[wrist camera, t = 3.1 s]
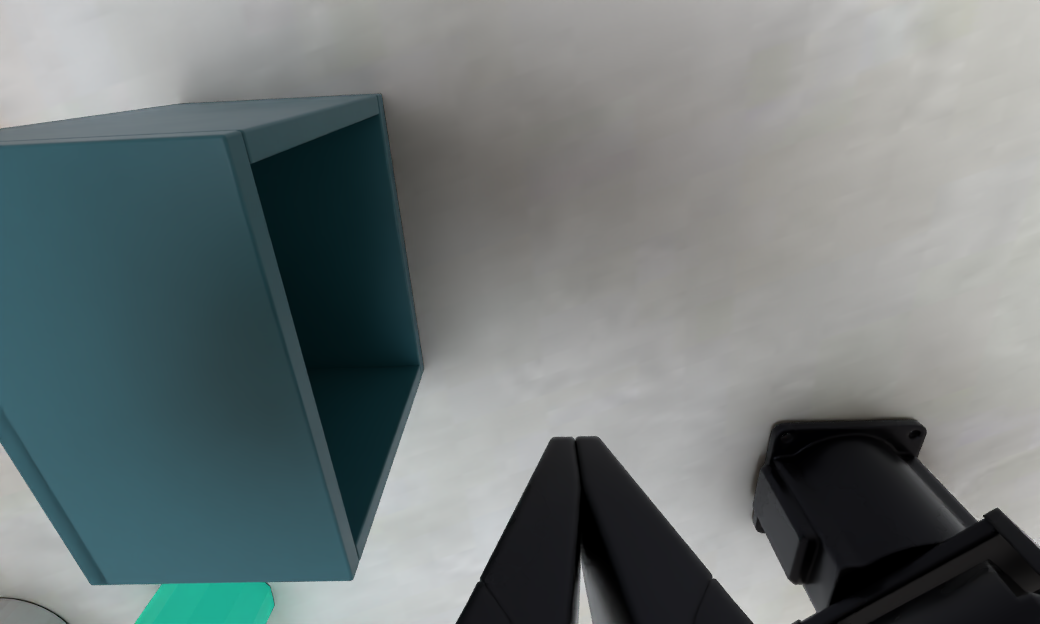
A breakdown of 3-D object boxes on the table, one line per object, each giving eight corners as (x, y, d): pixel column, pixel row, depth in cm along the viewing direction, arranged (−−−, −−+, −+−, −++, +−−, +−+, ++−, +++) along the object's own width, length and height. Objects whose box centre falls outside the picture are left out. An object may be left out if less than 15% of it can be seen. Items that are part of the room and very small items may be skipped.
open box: (381, 93, 17) (224, 134, 8) (424, 369, 22) (353, 581, 13) (178, 103, 18) (-185, 154, 9) (265, 374, 22) (89, 586, 14)
